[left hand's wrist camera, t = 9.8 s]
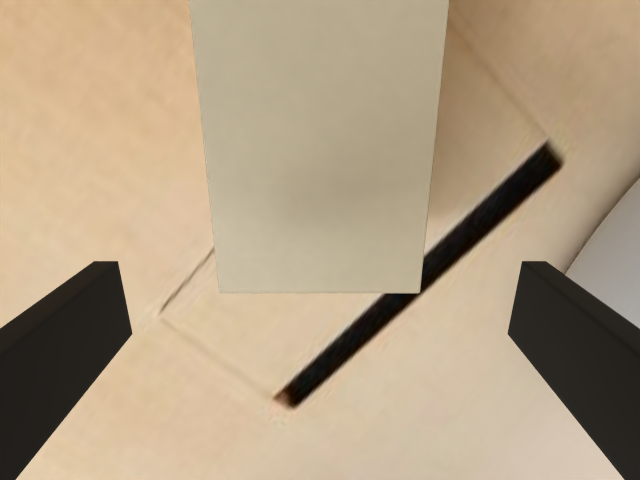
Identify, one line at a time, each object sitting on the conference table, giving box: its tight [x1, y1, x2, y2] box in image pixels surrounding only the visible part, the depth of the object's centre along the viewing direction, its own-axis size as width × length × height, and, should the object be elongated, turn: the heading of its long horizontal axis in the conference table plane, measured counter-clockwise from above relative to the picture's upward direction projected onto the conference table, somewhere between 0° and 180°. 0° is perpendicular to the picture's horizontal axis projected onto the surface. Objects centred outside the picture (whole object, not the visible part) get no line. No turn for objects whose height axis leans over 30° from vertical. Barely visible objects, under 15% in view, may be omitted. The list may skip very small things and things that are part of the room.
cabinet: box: [189, 0, 450, 293], centre depth 22 cm, size 18×11×11 cm, turn 0°
